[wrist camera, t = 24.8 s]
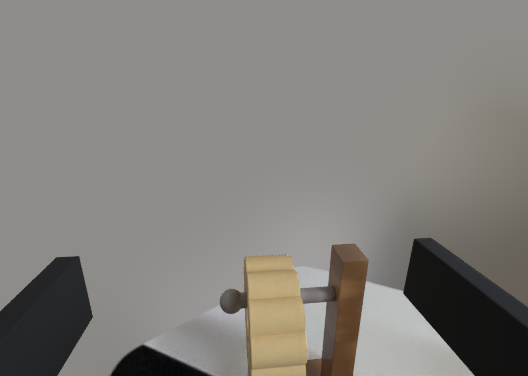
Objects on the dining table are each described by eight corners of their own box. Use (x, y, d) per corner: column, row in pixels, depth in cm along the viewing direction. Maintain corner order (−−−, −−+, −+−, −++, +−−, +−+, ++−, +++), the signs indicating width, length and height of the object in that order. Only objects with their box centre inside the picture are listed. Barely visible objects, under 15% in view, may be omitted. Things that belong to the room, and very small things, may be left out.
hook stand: (225, 475, 27) (214, 297, 21) (226, 377, 37) (219, 233, 30) (377, 454, 29) (411, 283, 22) (341, 365, 38) (357, 227, 32)
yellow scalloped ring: (251, 424, 24) (250, 317, 20) (244, 319, 35) (243, 236, 31) (302, 417, 25) (311, 312, 21) (280, 316, 36) (283, 234, 32)
